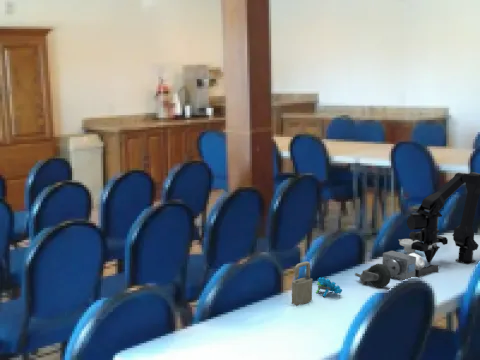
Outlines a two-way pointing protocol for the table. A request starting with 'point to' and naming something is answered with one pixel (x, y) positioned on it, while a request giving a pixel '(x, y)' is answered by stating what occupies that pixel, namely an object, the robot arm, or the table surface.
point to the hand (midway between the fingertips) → (428, 262)
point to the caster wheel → (375, 275)
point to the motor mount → (405, 266)
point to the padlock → (302, 286)
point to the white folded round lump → (418, 261)
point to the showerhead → (407, 245)
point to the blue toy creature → (327, 286)
